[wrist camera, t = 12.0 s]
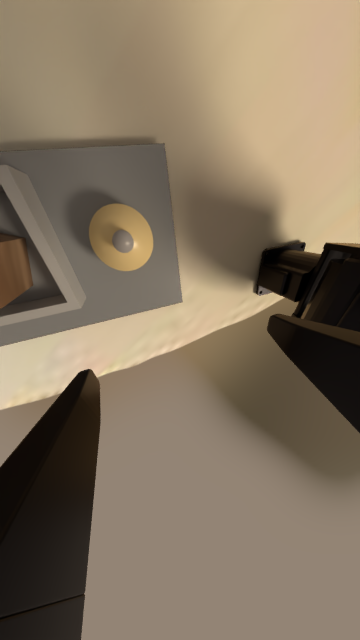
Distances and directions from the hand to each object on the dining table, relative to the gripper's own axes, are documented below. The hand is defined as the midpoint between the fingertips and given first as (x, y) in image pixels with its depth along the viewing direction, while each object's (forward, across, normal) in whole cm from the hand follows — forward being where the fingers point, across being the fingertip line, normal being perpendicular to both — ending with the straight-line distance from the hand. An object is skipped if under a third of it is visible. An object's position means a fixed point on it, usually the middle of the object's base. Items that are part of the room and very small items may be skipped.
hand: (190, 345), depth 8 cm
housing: (+13, +7, -3) cm, 15 cm away
